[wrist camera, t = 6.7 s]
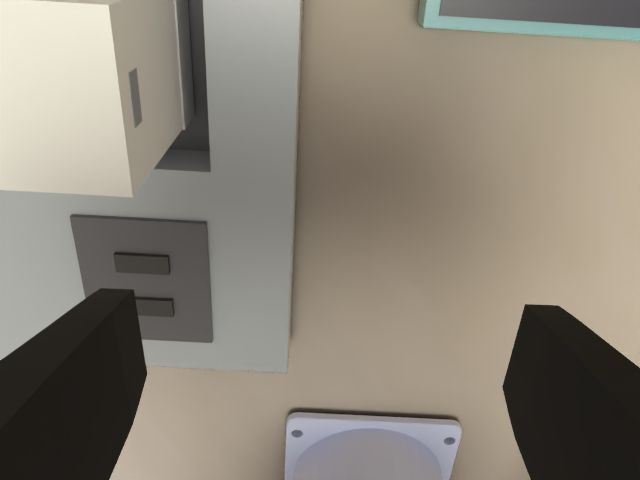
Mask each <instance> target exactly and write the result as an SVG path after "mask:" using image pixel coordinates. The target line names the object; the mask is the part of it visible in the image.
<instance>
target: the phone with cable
mask: <svg viewBox="0 0 640 480" xmlns="http://www.w3.org/2000/svg"><path fill="white" fill-rule="evenodd" d="M417 22H418V23H419V24H420V25H421V26H422V27H423V28H439V29H455V30H471V31H487V32H503V33H519V34H535V35H551V36H567V37H583V38H599V39H615V40H631V41H640V0H420V3H419V10H418V18H417Z"/></svg>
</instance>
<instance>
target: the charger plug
mask: <svg viewBox="0 0 640 480" xmlns="http://www.w3.org/2000/svg"><path fill="white" fill-rule="evenodd" d="M194 116H195V113H194V96H193V79H192V63H191V46H190V29H189V12H188V0H0V190H10V191H28V192H46V193H63V194H81V195H99V196H117V197H134V195H135V194H136V192H137V191H138V190H139V188H140V187H141V186H142V184H143V183H144V181H145V180H146V179H147V177H148V176H149V175H150V173H151V172H152V170H153V169H154V168H155V166H156V165H157V164H158V162H159V161H160V159H161V158H162V157H163V155H164V154H165V153H166V151H167V150H168V148H169V147H170V146H171V144H172V143H173V141H174V140H175V139H176V137H177V136H178V135H179V133H180V132H181V130H185V129H186V128H187V126H188V125H189V123H190V122H191V121H192V119H193V118H194Z"/></svg>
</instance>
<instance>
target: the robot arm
mask: <svg viewBox="0 0 640 480" xmlns="http://www.w3.org/2000/svg"><path fill="white" fill-rule="evenodd" d="M146 376H147V370H146V363H145V357H144V351H143V344H142V338H141V332H140V325H139V319H138V313H137V306H136V300H135V294H134V289H110V288H100V289H99V290H97V291H96V292H94V293H93V294H91V295H90V296H88V297H87V298H85V299H84V300H83V301H81V302H80V303H79V304H77V305H76V306H74V307H73V308H72V309H70V310H69V311H68V312H66V313H65V314H64V315H62V316H61V317H60V318H58V319H57V320H55V321H54V322H53V323H51V324H50V325H49V326H47V327H46V328H45V329H43V330H42V331H40V332H39V333H38V334H36V335H35V336H34V337H32V338H31V339H29V340H28V341H27V342H25V343H24V344H23V345H21V346H20V347H18V348H17V349H16V350H14V351H13V352H11V353H10V354H9V355H7V356H6V357H4V358H3V359H1V360H0V480H109V479H110V476H111V474H112V472H113V469H114V467H115V465H116V463H117V460H118V458H119V455H120V453H121V451H122V448H123V446H124V444H125V441H126V439H127V437H128V434H129V432H130V429H131V427H132V425H133V422H134V418H135V415H136V412H137V408H138V405H139V402H140V398H141V394H142V391H143V387H144V383H145V380H146ZM503 391H504V395H505V399H506V404H507V408H508V413H509V417H510V420H511V424H512V428H513V432H514V436H515V439H516V442H517V444H518V447H519V450H520V452H521V455H522V458H523V460H524V463H525V465H526V468H527V471H528V473H529V476H530V478H531V480H640V368H639V367H638V366H636V365H635V364H634V363H633V362H631V361H630V360H629V359H627V358H626V357H625V356H624V355H622V354H621V353H620V352H618V351H617V350H616V349H615V348H613V347H612V346H611V345H610V344H608V343H607V342H606V341H605V340H603V339H602V338H601V337H599V336H598V335H597V334H596V333H594V332H593V331H592V330H591V329H589V328H588V327H587V326H585V325H584V324H583V323H582V322H580V321H579V320H578V319H576V318H575V317H574V316H572V315H571V314H570V313H568V312H567V311H565V310H564V309H562V308H561V307H560V306H553V305H527V304H525V307H524V311H523V314H522V318H521V322H520V325H519V329H518V333H517V336H516V340H515V344H514V347H513V351H512V354H511V358H510V362H509V365H508V369H507V373H506V376H505V380H504V384H503ZM296 430H299V431H296ZM461 435H462V428H461V425H460V423H459V422H457V421H455V420H447V419H426V418H406V417H386V416H366V415H345V414H325V413H305V412H295V413H292V414H290V415H289V416H288V418H287V425H286V451H285V478H284V480H450V476H451V472H452V469H453V465H454V461H455V458H456V454H457V450H458V447H459V443H460V439H461ZM447 437H450V438H447Z"/></svg>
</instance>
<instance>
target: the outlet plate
mask: <svg viewBox="0 0 640 480" xmlns="http://www.w3.org/2000/svg"><path fill="white" fill-rule="evenodd" d="M302 11H303V0H188V12H189V29H190V46H191V63H192V79H193V96H194V113H195V116H194V118H193V119H192V121H191V122H190V123H189V125H188V126H187V128H186V129H185V130H181V132H180V133H179V135H178V136H177V137H176V139H175V140H174V141H173V143H172V144H171V146H170V147H169V148H168V150H167V151H166V153H165V154H164V155H163V157H162V158H161V159H160V161H159V162H158V164H157V165H156V166H155V168H154V169H153V170H152V172H151V173H150V175H149V176H148V177H147V179H146V180H145V181H144V183H143V184H142V186H141V187H140V188H139V190H138V191H137V192H136V194H135V195H134V197H117V196H99V195H81V194H63V193H46V192H28V191H10V190H0V359H3V358H4V357H6V356H7V355H9V354H10V353H11V352H13V351H14V350H16V349H17V348H18V347H20V346H21V345H23V344H24V343H25V342H27V341H28V340H29V339H31V338H32V337H34V336H35V335H36V334H38V333H39V332H40V331H42V330H43V329H45V328H46V327H47V326H49V325H50V324H51V323H53V322H54V321H55V320H57V319H58V318H60V317H61V316H62V315H64V314H65V313H66V312H68V311H69V310H70V309H72V308H73V307H74V306H76V305H77V304H79V303H80V302H81V301H83V300H84V299H85V298H87V297H88V296H90V295H91V294H93V293H94V292H96V291H97V290H99V289H100V288H110V289H134V294H135V300H136V306H137V313H138V319H139V325H140V332H141V338H142V344H143V351H144V357H145V363H146V366H152V367H172V368H191V369H211V370H231V371H251V372H271V373H287V368H288V357H289V346H290V330H291V303H292V277H293V250H294V224H295V197H296V171H297V144H298V117H299V91H300V64H301V38H302Z"/></svg>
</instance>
